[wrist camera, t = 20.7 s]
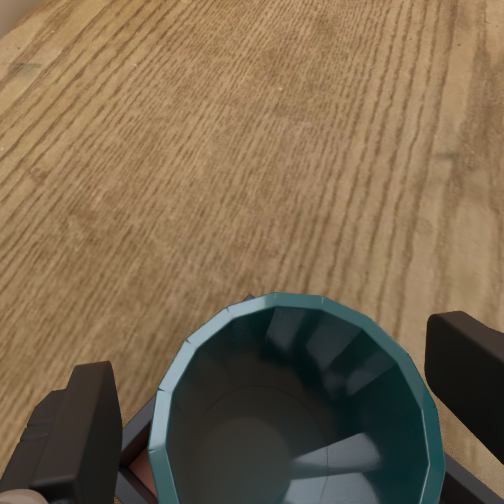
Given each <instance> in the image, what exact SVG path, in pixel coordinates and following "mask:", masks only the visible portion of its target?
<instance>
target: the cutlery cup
mask: <svg viewBox="0 0 504 504" xmlns="http://www.w3.org/2000/svg"><path fill="white" fill-rule="evenodd" d="M157 389H158V390H156V394H155V400H154V407H153V414H152V420H151V427H150V434H149V440H148V447H147V450H148V453H147V455H148V459H149V464H150V468H151V473H152V477H153V481H154V486H155V490H156V495H157V499H158V504H438V503H439V499H440V494H441V490H442V485H443V480H444V476H445V468H446V465H445V459H444V452H443V445H442V439H441V432H440V425H439V419H438V412H437V408H435V407H436V405H435V403H434V401H433V399H432V397H431V395H430V393H429V391H428V389H427V388H426V386H425V384H424V382H423V380H422V378H421V376H420V374H419V372H418V370H417V368H416V366H415V365H414V363H413V361H412V359H411V357H410V356H409V354H408V353H407V352H406V351H405V350H404V349H403V348H402V347H401V346H400V345H398V344H397V343H396V342H395V341H394V340H393V339H392V338H391V337H390V336H389V335H388V334H387V333H386V332H385V331H384V330H383V329H382V328H381V327H380V326H379V325H378V324H377V323H375V322H374V321H373V320H372V319H371V318H369V317H368V316H366V315H364V314H362V313H360V312H357V311H355V310H353V309H351V308H349V307H346V306H344V305H342V304H340V303H338V302H335V301H333V300H331V299H329V298H327V297H324V296H319V295H306V294H292V293H279V292H274V293H269V294H265V295H262V296H259V297H256V298H252V299H249V300H246V301H242V302H239V303H236V304H233V305H229V306H227V307H225V308H223V309H222V310H221V311H219V312H218V313H217V314H216V315H214V316H213V317H212V318H211V319H209V320H208V321H207V322H206V323H204V324H203V325H202V326H201V327H199V328H198V329H197V330H196V331H194V332H193V333H192V334H191V335H189V336H188V337H187V338H186V339H185V340H184V341H183V343H182V345H181V347H180V348H179V350H178V352H177V354H176V355H175V357H174V359H173V361H172V362H171V364H170V366H169V368H168V369H167V371H166V373H165V375H164V376H163V378H162V380H161V382H160V383H159V385H158V387H157Z"/></svg>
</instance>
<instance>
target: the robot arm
mask: <svg viewBox="0 0 504 504" xmlns="http://www.w3.org/2000/svg"><path fill="white" fill-rule="evenodd" d="M424 370H425V377H426V380H427V383H428V385H429V387H430V389H431V390H432V392H433V393H434V394H435V395H436V396H437V397H438V398H439V399H440V400H441V401H442V402H443V403H444V404H445V405H446V406H447V407H448V408H449V410H450V411H451V412H452V413H453V414H454V415H455V416H456V417H457V418H458V419H459V420H460V421H461V422H462V423H463V424H464V425H465V426H466V427H467V428H468V429H469V430H470V431H471V432H472V433H473V434H474V435H475V436H476V437H477V438H478V439H479V440H480V441H481V442H482V443H483V444H484V446H485V447H486V448H487V449H488V450H489V451H490V452H491V453H492V454H493V455H494V456H495V457H496V458H497V459H498V460H499V461H500V462H501V463H502V464H503V465H504V333H502V332H499V331H496V330H494V329H491V328H488V327H487V326H485V325H484V324H482V323H481V322H479V321H477V320H476V319H474V318H473V317H471V316H470V315H468V314H467V313H465V312H463V311H453V312H446V313H439V314H433V315H431V316H430V317H429V319H428V322H427V332H426V349H425V365H424ZM122 441H123V430H122V419H121V413H120V407H119V402H118V396H117V391H116V385H115V379H114V374H113V369H112V365H111V363H110V361H103V362H96V363H89V364H82V365H76V366H75V367H74V370H73V372H72V375H71V377H70V380H69V382H68V385H67V387H66V389H62V390H56V391H51V392H50V393H49V394H48V395H47V396H46V397H45V398H44V399H43V400H42V401H41V402H40V403H39V404H38V405H37V406H36V407H35V408H34V410H33V413H32V415H31V417H30V419H29V421H28V423H27V428H25V429H24V431H23V433H22V436H21V438H20V442H19V443H18V444H17V446H16V448H15V450H14V452H13V454H12V457H11V459H10V461H9V463H8V465H7V467H6V469H5V471H4V473H3V475H2V478H1V480H0V504H113V503H114V497H115V490H116V483H117V477H118V470H119V463H120V457H121V450H122Z"/></svg>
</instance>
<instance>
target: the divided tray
mask: <svg viewBox="0 0 504 504" xmlns="http://www.w3.org/2000/svg"><path fill="white" fill-rule="evenodd" d="M252 298H255V297H254V296H253V295H251V294H249V295H248V296H247V297H246V298H245V299H244V300H243V301H246V300H249V299H252ZM154 400H155V395H154V396H153V397H152V398H151V399H150V400H149V401H148V402H147V403H146V404H145V405H144V406H143V407H142V408H141V410H140V411H139V412H138V413H137V414H136V415H135V416H134V417H133V418H132V419H131V420H130V421H129V422H128V423H127V424H126V425H125V427H124V428H123V429H122V430H123V441H122V450H121V457H120V463H119V470H118V477H117V483H116V490H115V496H116V497H117V499H118V500H119V501H120V502H121V503H122V504H158V499H157V495H156V490H155V486H154V481H153V477H152V473H151V468H150V464H149V459H148V455H147V453H148V450H147V447H148V440H149V434H150V427H151V420H152V414H153V407H154ZM443 452H444V451H443ZM444 459H445V465H446V468H445V476H444V480H443V485H442V490H441V494H440V499H439V503H438V504H504V500H503V499H502V498H501V497H499V496H498V495H497V494H496V493H495V492H493V491H492V490H491V489H490V488H488V487H487V486H486V485H485V484H484V483H482V482H481V481H480V480H479V479H477V478H476V477H475V476H474V475H472V474H471V473H470V472H469V471H468V470H466V469H465V468H464V467H463V466H461V465H460V464H459V463H458V462H456V461H455V460H454V459H453V458H452V457H450V456H449V455H448V454H447V453H445V452H444Z"/></svg>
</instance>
